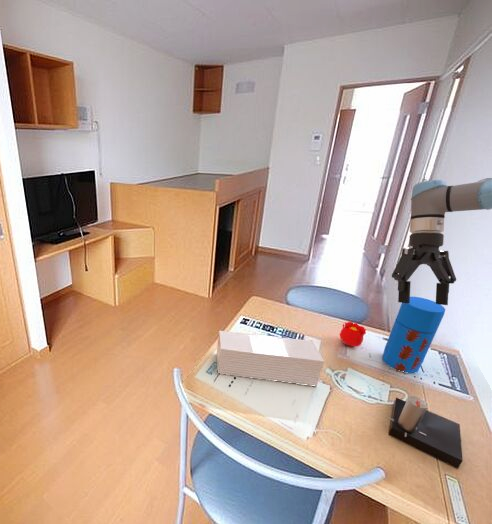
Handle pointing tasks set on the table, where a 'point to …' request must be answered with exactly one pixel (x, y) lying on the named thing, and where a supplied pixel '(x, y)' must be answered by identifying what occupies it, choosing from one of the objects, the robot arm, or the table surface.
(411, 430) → the beige cylinder
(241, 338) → the stack of papers
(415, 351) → the thermos
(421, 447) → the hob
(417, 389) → the table surface
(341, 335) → the flower
